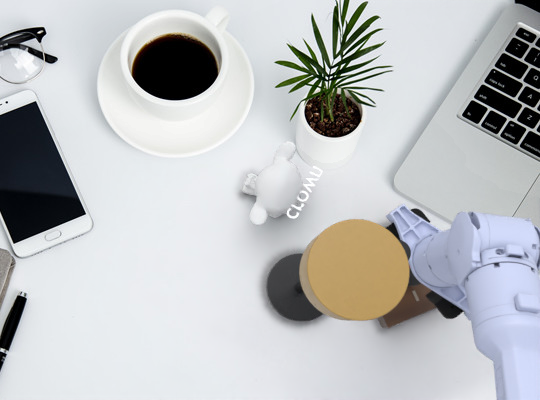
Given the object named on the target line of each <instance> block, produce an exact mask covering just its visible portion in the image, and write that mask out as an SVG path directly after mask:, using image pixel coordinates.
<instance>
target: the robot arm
mask: <svg viewBox="0 0 540 400" xmlns="http://www.w3.org/2000/svg"><path fill="white" fill-rule="evenodd" d="M385 218H386V219H387V220H388V221H389V222H390V224H389V225H387V226H388V227H387V226H385V227H386V229H387V230H389V231H390V232H391V233H392V234H393V235H394V236H395V237H396V238H397V239H398V240H402V241H404V242H406V243H407V244H408V246H409V247H410V250H411V256H410V259H409V261H408V262H409V265H410V268H411V271H412V273H413V275H414V276H415V277H416V279H417V280H418V281H419V282H420V283H422V284H423V285H425V286H426V287H428V288H429V289H431V290H432V291H431V292H429V293H428V294H427V295H425V296H426V297H427V298H428V300H429V301H431V302H432V303H434V305H435V307H436V308H435V309H437V310H438V312H439V313H440V314H441V315H442V317H444V319H447V320H453V319H456V318H457V317H459V316H460V315H461V314H462V313H463V314H464V316H465V317H466V319H467V320H468V321H469V322H470V324H471V330H472V336H473V343H474V346H475V348H476V349H477V350H478V351H479V352H480V353H481V354H482V355H483V356H484V357H486V358H487V359H488V360H489V361H492V363H493V364H492V365H493V371H494V372H493V373H494V375H493V376H494V384H495V385H494V386H495V397H496V400H540V273H539V271H540V228H539V227H538V226H537V225H534V223H533V222H532V220H531V218H529V217H528V218H524V217H516V216H509V215H502V214H493V213H488V212H487V213H485V212H478V211H469V212H466V211H464V210H463V211H459V212H458V213H457V214H456V216H455V217H454V219H453V221H452V223H451V226H450V227H449V228H448V229H445V230H442V229H440V228H438V227H437V226H435V225H433V224H432V223H431V220H430V219H429V218H428V217H427V215H426V214H425V213H424V212H423V211H422V210H421V209H419V208H418V207H417V208H414V207H413V208H411V209H409V207H408V206H407V205H406V204H405V203H402V204H400V205H398V206H397V207H396V208H394V209H393V210H392V211H390V212H389V213H388V214H386V215H385Z"/></svg>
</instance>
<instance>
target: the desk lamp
mask: <svg viewBox="0 0 540 400" xmlns="http://www.w3.org/2000/svg"><path fill="white" fill-rule="evenodd" d="M410 256H411V250H410V247H409V246H408V244H407V243H406V242H404V241H402V240H398V239H397V238H396V237H395V236H394V235H393V234H392V233H391V232H390V231H389V230H387V229H386V228H385V227H384V226H383V225H381V224H379V223H377V222H374V221H371V220H367V219H361V218H349V219H345V220H341V221H338V222H335V223H333V224H331V225H330V226H328V227H327V228H325V229H324V230H322V232H320V233H319V234H317V236H315V238H313V239H311V241H310V242H309V243H308V244H307V246H306V248H305V249H304V251H303V253H291V254H288V255H286V256H284V257H282V258H280V259H279V260H277V262H276V263H275V264H274V265H273V266H272V268H271V269H270V271H269V273H268V275H267V278H266V284H265V289H266V296H267V299H268V302H269V303H270V305H271V306H272V308H273V309H274V310H275V311H276V312H277V313H278V314H279V315H280V316H282V317H283V318H285V319H288V320H290V321H295V322H309V321H312V320H316V319H318V318H319V317H321V316H322V315H325V316H327V317H330V318H332V319H335V320H340V321H347V322H348V321H351V322H353V321H355V322H365V321H366V322H367V321H372V320H376V319H378V318H379V317H381V316H383V315H385V314H387V313H388V312H390V311H391V310H392V309H393V308H395V307H396V306H397V304H398V303H399V302H400V301H401V299H402V298H403V296H404V294H405V292H406V289H407V286H408V283H409V262H408V261H409V259H410Z"/></svg>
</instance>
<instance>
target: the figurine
mask: <svg viewBox="0 0 540 400" xmlns="http://www.w3.org/2000/svg"><path fill="white" fill-rule="evenodd" d="M296 151H297V146H296V144H295V143H294V142H292V141H289V140H287V141H284V142H283V143H281V144H280V145H279V146H278V147H277V149H276V151H275V153H274V156H273V160H272V163H271V164H270V165H269V166H267V167H265V168H264V169H262V170H261V171H260V172H259V173H258V175H257V174H255V173H253V172H250V173H247V174H246V179H245V180H244V181H243V186H242V189H241V192H242V193H244V194H246V195H250V196H255V197H256V200H255V202H254V204H253V205H252V207H251V209H250V211H249V220H250V222H251V223H252V224H253V225H255V226H264V224H266V222H267V220H268V217H270V218H273V219H276V218H280V217H281V216H282V215H286V216H287V217H288V218H290V219H297V218H298V217H299V215H300V212H301V211H302V208H304V206H305V205H306V206H307V205H308V204H307V203H305V202H307V200H308V199H309V193H312V192H313V191H312V190H311V188H310V187H316V184H314V182H313V181H315V182H317V181H319V179H320V178H321V175H322V174H323V171H324V170H322V169H321V168H320V167H317V166H315V165H313V166H312V168H313V169H315V170H318V171H319V172H320V173H319V174H317V173H315V172H313V171H311V170H310V171H309V174H311V175H312V176H315V177H317V178H315V177H313V178H312V177H305V179H306V180H307V181H308V183H304V179H303V178H302V175H301V173H300V171H299V168H298V166H297V165H295V164H294V163H293V162H291V159H293V157H294V156H295V153H296ZM303 187H305V189H306V190H307V191H308V192H309V193H308V192H307V191H305V190H303ZM302 193H303V194H305V195H306V197H305V198H304V199H302V198H301V194H302ZM297 205H300V206H297ZM294 209H296V210H298V211H300V212H298V211H296V215H290V212H291V211H293V210H294Z"/></svg>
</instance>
